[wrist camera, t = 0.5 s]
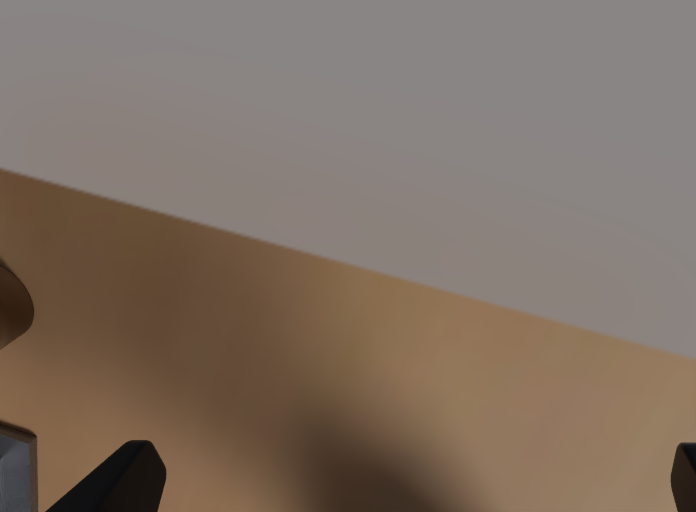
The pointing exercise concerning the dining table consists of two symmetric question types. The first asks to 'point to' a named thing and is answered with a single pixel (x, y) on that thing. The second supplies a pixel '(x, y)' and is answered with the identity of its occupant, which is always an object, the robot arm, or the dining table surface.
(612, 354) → the dining table surface
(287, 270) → the dining table surface
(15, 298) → the tan round-top cylinder
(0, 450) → the cup bracket
